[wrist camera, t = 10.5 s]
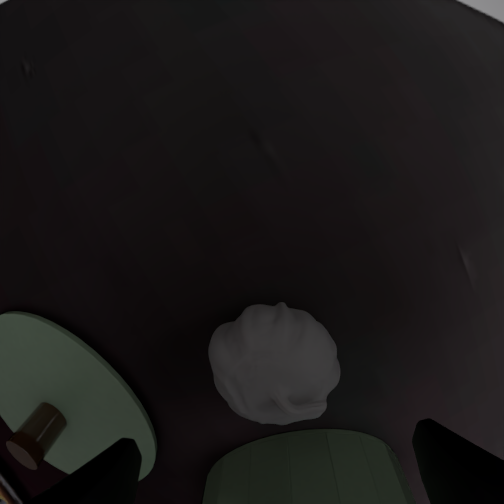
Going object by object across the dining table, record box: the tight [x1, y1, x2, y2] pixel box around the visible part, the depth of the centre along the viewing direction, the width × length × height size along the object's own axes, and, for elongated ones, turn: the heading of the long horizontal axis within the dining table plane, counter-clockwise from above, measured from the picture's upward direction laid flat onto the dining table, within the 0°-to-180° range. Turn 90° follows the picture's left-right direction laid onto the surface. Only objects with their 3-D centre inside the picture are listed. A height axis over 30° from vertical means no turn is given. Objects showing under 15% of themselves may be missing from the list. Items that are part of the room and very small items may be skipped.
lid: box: [0, 311, 157, 481], centre depth 14 cm, size 15×15×6 cm
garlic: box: [208, 302, 340, 425], centre depth 13 cm, size 6×5×5 cm
